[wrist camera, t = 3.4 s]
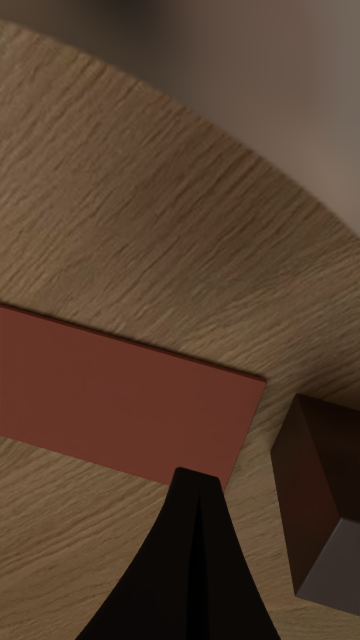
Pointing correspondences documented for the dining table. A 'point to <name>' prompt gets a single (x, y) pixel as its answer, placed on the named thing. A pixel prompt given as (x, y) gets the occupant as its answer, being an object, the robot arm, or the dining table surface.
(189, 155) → the dining table surface
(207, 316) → the dining table surface
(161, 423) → the terracotta mat
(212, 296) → the dining table surface
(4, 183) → the dining table surface
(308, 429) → the walnut block
